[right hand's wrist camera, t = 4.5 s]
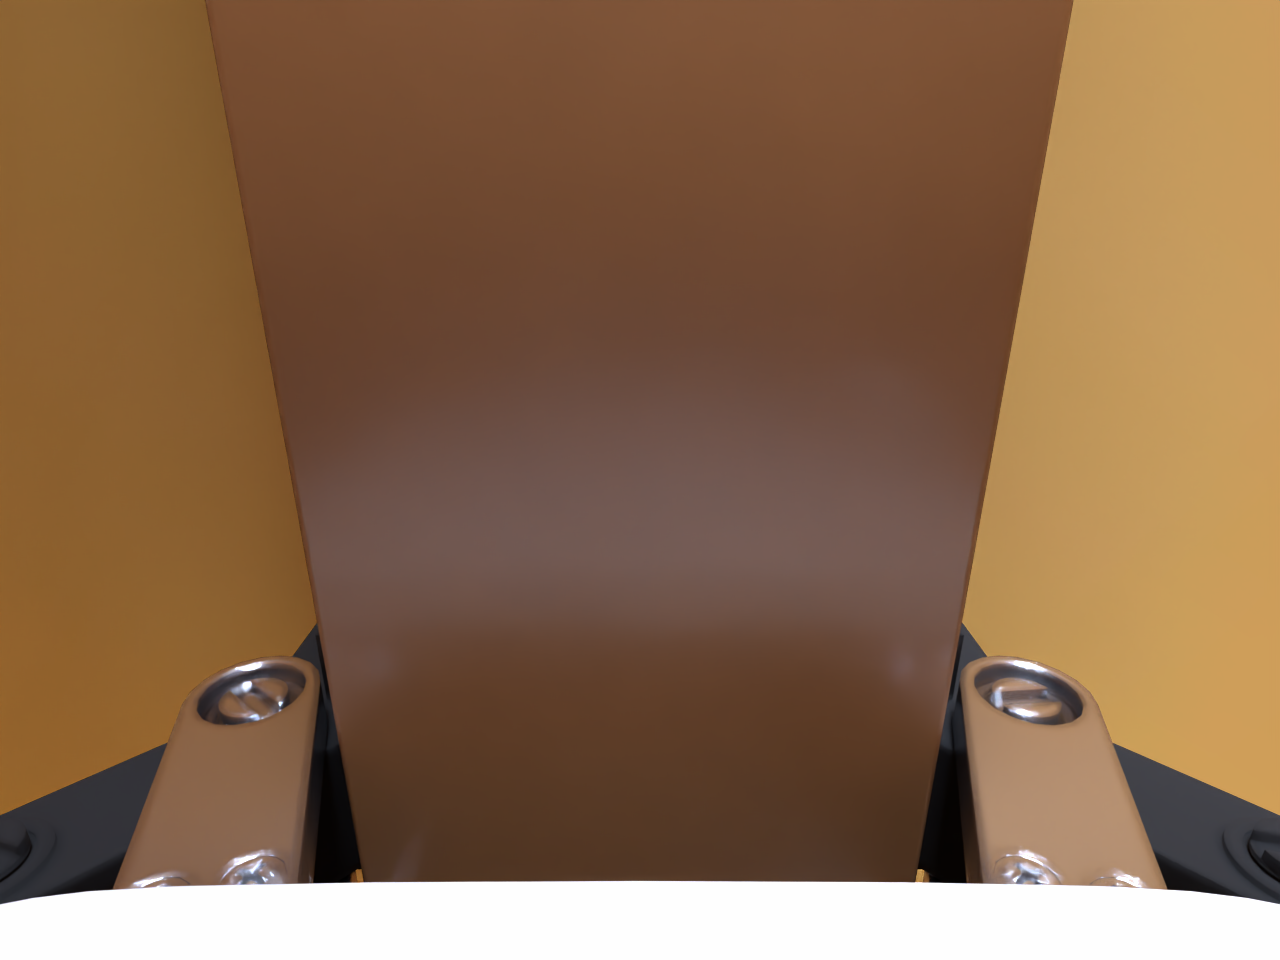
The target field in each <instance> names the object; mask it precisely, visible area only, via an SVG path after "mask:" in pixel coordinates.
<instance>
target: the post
mask: <svg viewBox="0 0 1280 960" xmlns="http://www.w3.org/2000/svg"><path fill="white" fill-rule="evenodd" d="M205 2H206V8H207V13H208V19H209V25H210V30H211V36H212V41H213V47H214V52H215V58H216V63H217V69H218V75H219V80H220V86H221V91H222V97H223V102H224V108H225V113H226V119H227V125H228V130H229V136H230V141H231V147H232V152H233V158H234V163H235V169H236V174H237V180H238V186H239V191H240V197H241V202H242V208H243V213H244V219H245V224H246V230H247V236H248V241H249V247H250V252H251V258H252V263H253V269H254V274H255V280H256V286H257V291H258V297H259V302H260V308H261V313H262V319H263V324H264V330H265V336H266V341H267V347H268V352H269V358H270V363H271V369H272V374H273V380H274V386H275V391H276V397H277V402H278V408H279V413H280V419H281V424H282V430H283V435H284V441H285V447H286V452H287V458H288V463H289V469H290V474H291V480H292V485H293V491H294V497H295V502H296V508H297V513H298V519H299V524H300V530H301V535H302V541H303V547H304V552H305V558H306V563H307V569H308V574H309V580H310V585H311V591H312V597H313V602H314V608H315V613H316V619H317V624H318V630H319V635H320V641H321V647H322V652H323V658H324V663H325V669H326V674H327V680H328V685H329V691H330V696H331V702H332V708H333V713H334V719H335V724H336V730H337V735H338V741H339V746H340V752H341V758H342V763H343V769H344V774H345V780H346V785H347V791H348V796H349V802H350V808H351V813H352V819H353V824H354V830H355V835H356V841H357V846H358V852H359V858H360V863H361V869H362V874H363V880H364V883H371V882H564V881H716V882H909V883H915V880H916V875H917V869H918V864H919V858H920V852H921V847H922V841H923V836H924V830H925V825H926V819H927V813H928V808H929V802H930V797H931V791H932V786H933V780H934V774H935V769H936V763H937V758H938V752H939V747H940V741H941V735H942V730H943V724H944V719H945V713H946V708H947V702H948V696H949V691H950V685H951V680H952V674H953V669H954V663H955V657H956V652H957V646H958V641H959V635H960V630H961V624H962V618H963V613H964V607H965V602H966V596H967V591H968V585H969V579H970V574H971V568H972V563H973V557H974V552H975V546H976V540H977V535H978V529H979V524H980V518H981V513H982V507H983V501H984V496H985V490H986V485H987V479H988V474H989V468H990V462H991V457H992V451H993V446H994V440H995V435H996V429H997V423H998V418H999V412H1000V407H1001V401H1002V396H1003V390H1004V384H1005V379H1006V373H1007V368H1008V362H1009V357H1010V351H1011V345H1012V340H1013V334H1014V329H1015V323H1016V318H1017V312H1018V306H1019V301H1020V295H1021V290H1022V284H1023V279H1024V273H1025V267H1026V262H1027V256H1028V251H1029V245H1030V240H1031V234H1032V228H1033V223H1034V217H1035V212H1036V206H1037V201H1038V195H1039V189H1040V184H1041V178H1042V173H1043V167H1044V162H1045V156H1046V150H1047V145H1048V139H1049V134H1050V128H1051V123H1052V117H1053V111H1054V106H1055V100H1056V95H1057V89H1058V84H1059V78H1060V72H1061V67H1062V61H1063V56H1064V50H1065V45H1066V39H1067V33H1068V28H1069V22H1070V17H1071V11H1072V6H1073V0H205Z"/></svg>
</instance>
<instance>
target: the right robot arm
mask: <svg viewBox="0 0 1280 960" xmlns="http://www.w3.org/2000/svg"><path fill="white" fill-rule="evenodd" d="M357 869H361V863H360V858H359V852H358V846H357V841H356V835H355V830H354V824H353V819H352V813H351V808H350V802H349V796H348V791H347V785H346V780H345V774H344V769H343V763H342V758H341V752H340V746H339V741H338V735H337V730H336V724H335V719H334V713H333V708H332V702H331V696H330V691H329V685H328V680H327V674H326V669H325V663H324V658H323V652H322V647H321V641H320V635H319V630H318V624H316V625H315V626H314V628H313V629H312V630H311V632H310V633H309V635H308V636H307V637H306V639H305V640H304V641H303V643H302V644H301V645H300V647H299V648H298V650H297V651H296V652H295V654H294V655H293V656H292V657H288V656H272V657H261V658H257V659H253V660H248V661H244V662H240V663H238V664H235V665H233V666H230V667H228V668H225V669H223V670H220V671H219V672H217V673H215V674H214V675H212V676H210V677H208V678H207V679H205V680H203V681H202V682H201V683H200V684H199V685H198V686H196V687H195V688H194V689H193V690H192V691H191V692H190V693H189V694H188V696H187V698H186V699H185V701H184V702H183V704H182V706H181V709H180V711H179V714H178V717H177V719H176V722H175V725H174V727H173V730H172V733H171V735H170V738H169V741H168V743H165V744H163V745H161V746H159V747H156V748H154V749H152V750H149V751H147V752H145V753H142V754H140V755H138V756H136V757H133V758H131V759H129V760H126V761H124V762H122V763H119V764H117V765H115V766H113V767H110V768H108V769H106V770H103V771H101V772H99V773H97V774H94V775H92V776H90V777H87V778H85V779H83V780H80V781H78V782H76V783H74V784H71V785H69V786H67V787H64V788H62V789H60V790H57V791H55V792H53V793H51V794H48V795H46V796H44V797H41V798H39V799H37V800H35V801H32V802H30V803H28V804H25V805H23V806H21V807H18V808H16V809H14V810H12V811H9V812H7V813H5V814H2V815H0V960H1280V815H1277V814H1275V813H1273V812H1270V811H1268V810H1266V809H1263V808H1261V807H1259V806H1257V805H1254V804H1252V803H1250V802H1247V801H1245V800H1243V799H1240V798H1238V797H1236V796H1234V795H1231V794H1229V793H1227V792H1224V791H1222V790H1220V789H1218V788H1215V787H1213V786H1211V785H1208V784H1206V783H1204V782H1201V781H1199V780H1197V779H1195V778H1192V777H1190V776H1188V775H1185V774H1183V773H1181V772H1178V771H1176V770H1174V769H1172V768H1169V767H1167V766H1165V765H1162V764H1160V763H1158V762H1155V761H1153V760H1151V759H1149V758H1146V757H1144V756H1142V755H1139V754H1137V753H1135V752H1133V751H1130V750H1128V749H1126V748H1123V747H1121V746H1119V745H1116V744H1114V743H1112V741H1111V738H1110V735H1109V733H1108V730H1107V727H1106V725H1105V722H1104V719H1103V717H1102V714H1101V711H1100V709H1099V706H1098V704H1097V702H1096V701H1095V699H1094V698H1093V696H1092V694H1091V693H1090V692H1089V691H1088V690H1087V689H1086V688H1085V687H1084V686H1082V685H1081V684H1080V683H1079V682H1078V681H1077V680H1075V679H1073V678H1072V677H1070V676H1068V675H1066V674H1065V673H1063V672H1061V671H1060V670H1057V669H1055V668H1052V667H1050V666H1047V665H1045V664H1042V663H1040V662H1036V661H1032V660H1027V659H1023V658H1019V657H1008V656H992V657H987V656H986V654H985V653H984V652H983V650H982V649H981V648H980V646H979V645H978V644H977V642H976V641H975V639H974V638H973V637H972V635H971V634H970V633H969V631H968V630H967V629H966V627H965V626H964V624H963V623H962V624H961V630H960V635H959V641H958V646H957V652H956V657H955V663H954V669H953V674H952V680H951V685H950V691H949V696H948V702H947V708H946V713H945V719H944V724H943V730H942V735H941V741H940V747H939V752H938V758H937V763H936V769H935V774H934V780H933V786H932V791H931V797H930V802H929V808H928V813H927V819H926V825H925V830H924V836H923V841H922V847H921V852H920V858H919V864H918V869H923V870H924V877H923V882H922V883H909V882H716V881H564V882H371V883H358V882H357V877H356V871H355V870H357Z"/></svg>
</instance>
